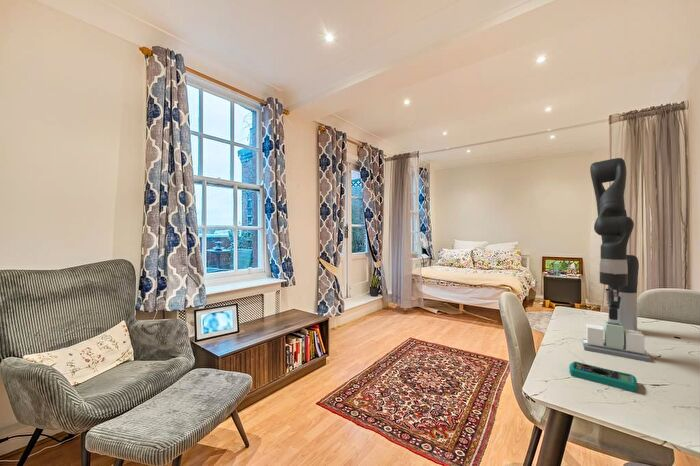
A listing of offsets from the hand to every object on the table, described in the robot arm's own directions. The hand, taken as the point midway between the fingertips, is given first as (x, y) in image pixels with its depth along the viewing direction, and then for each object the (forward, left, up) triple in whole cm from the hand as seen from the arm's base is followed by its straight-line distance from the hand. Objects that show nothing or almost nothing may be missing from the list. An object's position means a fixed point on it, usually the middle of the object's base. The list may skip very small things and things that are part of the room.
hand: (613, 319), depth 105 cm
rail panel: (0, 0, -12) cm, 12 cm away
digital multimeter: (+29, -6, -12) cm, 32 cm away
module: (0, 0, -10) cm, 10 cm away
